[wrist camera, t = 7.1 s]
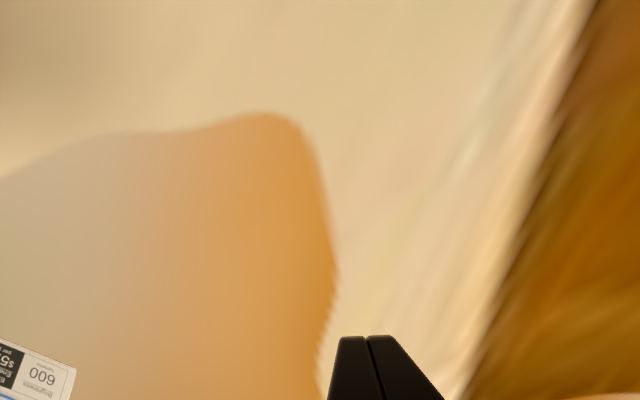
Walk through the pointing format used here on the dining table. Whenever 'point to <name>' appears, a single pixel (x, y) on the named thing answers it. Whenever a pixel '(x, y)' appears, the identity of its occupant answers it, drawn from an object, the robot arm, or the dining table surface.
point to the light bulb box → (32, 375)
